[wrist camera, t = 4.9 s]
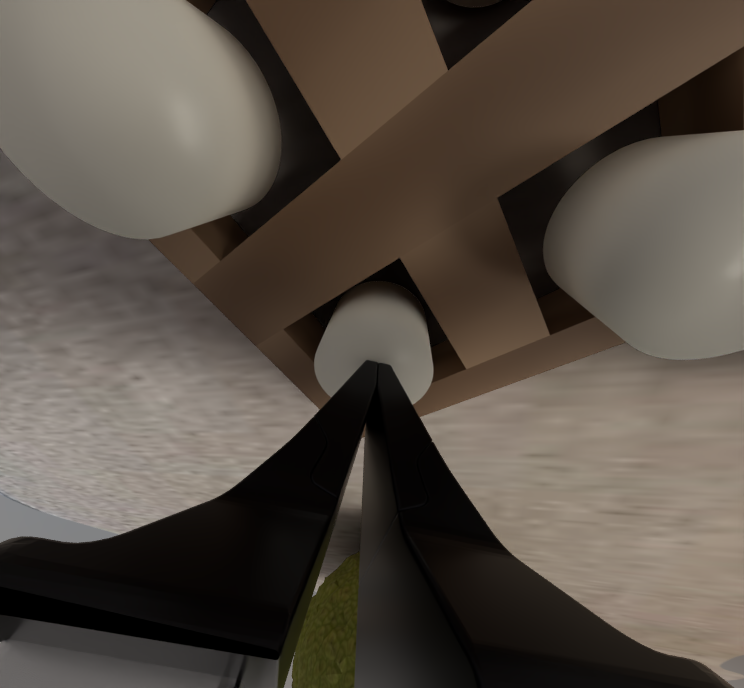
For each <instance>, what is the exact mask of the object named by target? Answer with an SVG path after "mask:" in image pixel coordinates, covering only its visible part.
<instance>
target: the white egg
mask: <svg viewBox="0 0 744 688" xmlns="http://www.w3.org/2000/svg"><path fill="white" fill-rule="evenodd" d="M447 1H449V2H451V3H453V4H456V5H459V6H464V7H470V8H471V7H484V6H488V5H493V4H495V3H498V2H500V1H503V0H447Z"/></svg>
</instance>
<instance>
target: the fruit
mask: <svg viewBox="0 0 744 688" xmlns="http://www.w3.org/2000/svg"><path fill="white" fill-rule="evenodd" d="M359 564H360V552H358V553H356V554H354V555H351V556H350V557H348V558H346V560H345V561H344V562H343V563H342V564H341V565H340V566H339V567H338V569H337V570H335V571H334V572H333V573H331V574H330V575H329V576H328V577H325V580H324V583H323V584H322V585H321V586H319V589H318V591H317V594H316V595H315V596H313V597H312V598H311V601H310V605H309V608H308V611H307V614H306V617H305V621H304V624H303V627H302V630H301V634H300V637H299V640H298V643H297V646H296V650H295V655H294V660H293V669H292V670H293V671H292V678H293V682H292V688H354V683H355V659H356V634H357V610H358V588H359Z"/></svg>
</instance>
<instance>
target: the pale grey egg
mask: <svg viewBox="0 0 744 688" xmlns="http://www.w3.org/2000/svg"><path fill="white" fill-rule="evenodd" d="M543 258H544V263H545V267H546V269H547V272H548V274H549V276H550V277H551V279H552V280H553V281H554V282H555V283H556V284H557V285H558V286H559V287H560V288H561V289H562V290H564V291H565V292H566V293H567V294H569V295H570V296H571V297H572V298H573V299H575V300H576V301H577V302H578V303H579V304H581V305H582V306H583V307H584V308H586V309H587V310H588V311H589V312H590V313H592V314H593V315H594V316H595V317H596V318H598V319H599V320H600V321H601V322H602V323H604V324H605V325H606V326H607V327H609V328H610V329H611V330H612V331H613V332H615V333H616V334H617V335H618V336H619V337H621V338H622V339H623V340H624V341H626V342H627V343H628V344H629V345H631V346H632V347H634V348H635V349H636V350H638V351H641V352H643V353H645V354H647V355H651V356H654V357H658V358H664V359H671V360H697V359H705V358H712V357H717V356H722V355H727V354H731V353H734V352H738V351H742V350H744V130H741V131H728V132H715V133H702V134H690V135H677V136H664V137H656V138H649V139H646V140H642V141H638V142H635V143H633V144H630V145H628V146H625V147H623V148H621V149H619V150H617V151H615V152H613V153H611V154H609V155H608V156H606V157H605V158H603V159H602V160H600V161H599V162H597V163H596V164H595V165H593V166H592V167H591V168H590V169H588V170H587V171H586V172H585V173H584V174H583V175H582V176H581V177H580V178H579V179H577V180H576V182H575V183H574V184H573V185H572V186H571V187H570V188H569V189H568V191H567V192H566V193H565V195H564V196H563V197H562V199H561V200H560V202H559V203H558V205H557V207H556V208H555V210H554V212H553V214H552V216H551V218H550V221H549V223H548V226H547V229H546V232H545V237H544V242H543Z"/></svg>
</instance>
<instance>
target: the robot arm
mask: <svg viewBox="0 0 744 688" xmlns="http://www.w3.org/2000/svg"><path fill="white" fill-rule="evenodd" d="M365 424H366V426H365ZM364 428H365V444H364V468H363V492H362V516H361V540H360V564H359V588H358V610H357V634H356V659H355V683H354V688H734V687H733V686H731V685H730V684H729V683H728V682H726V681H725V680H724V679H722V678H721V677H720V676H719V675H717V674H716V673H715V672H713V671H712V670H711V669H709V668H708V667H707V666H705V665H704V664H702V663H700V662H697V661H695V660H691V659H687V658H683V657H677V656H672V655H667V654H664V653H661V652H657V651H655V650H653V649H651V648H648V647H646V646H644V645H642V644H640V643H638V642H637V641H635V640H633V639H631V638H630V637H628V636H626V635H624V634H623V633H621V632H620V631H618V630H617V629H615V628H614V627H612V626H611V625H609V624H608V623H607V622H605V621H604V620H602V619H601V618H600V617H598V616H597V615H595V614H594V613H593V612H591V611H590V610H588V609H587V608H586V607H584V606H583V605H581V604H580V603H579V602H577V601H576V600H574V599H573V598H572V597H570V596H569V595H567V594H566V593H565V592H563V591H562V590H560V589H559V588H558V587H556V586H555V585H553V584H552V583H551V582H549V581H548V580H546V579H545V578H544V577H542V576H541V575H539V574H538V573H536V572H535V571H534V570H532V569H531V568H529V567H528V566H527V565H525V564H524V563H522V562H521V561H520V560H518V559H517V558H516V557H515V556H514V555H512V554H511V553H510V552H509V551H508V550H507V549H506V548H505V547H504V546H503V545H502V544H501V542H500V541H499V540H498V539H497V538H496V536H495V535H494V534H493V532H492V531H491V530H490V528H489V527H488V525H487V524H486V522H485V521H484V520H483V518H482V517H481V515H480V514H479V512H478V511H477V509H476V508H475V507H474V505H473V504H472V502H471V501H470V499H469V498H468V497H467V495H466V494H465V492H464V491H463V489H462V488H461V486H460V485H459V483H458V482H457V480H456V479H455V477H454V476H453V474H452V473H451V471H450V470H449V468H448V467H447V465H446V463H445V462H444V460H443V458H442V456H441V455H440V453H439V451H438V450H437V448H436V446H435V444H434V442H432V439H431V437H430V435H429V433H428V432H427V430H426V428H425V426H424V424H423V423H422V421H421V419H420V417H419V415H418V414H417V412H416V410H415V408H414V406H413V404H412V403H411V401H410V399H409V397H408V395H407V394H406V392H405V390H404V388H403V386H402V385H401V383H400V381H399V379H398V377H397V376H396V374H395V372H394V370H393V368H392V366H391V365H389V364H384V363H379V364H378V363H377V362H375V361H371V360H366V361H365V362H364V363H363V364H362V365H361V366H360V367H359V368H358V369H357V370H356V371H355V372H354V373H353V375H352V376H351V377H350V378H349V379H348V380H347V381H346V382H345V383H344V384H343V385H342V386H341V388H340V389H339V390H338V391H337V392H336V393H335V394H334V395H333V396H332V397H331V398H330V399H329V400H328V402H327V403H326V404H325V405H324V406H323V407H322V408H321V409H320V410H319V411H318V412H317V413H316V415H315V416H314V417H313V418H312V419H311V420H310V421H309V422H308V423H307V424H306V425H305V426H304V427H303V428H302V429H301V430H300V431H299V432H298V433H297V434H296V435H295V436H294V437H293V438H292V439H291V440H290V441H289V442H287V443H286V444H285V445H284V446H283V447H282V448H281V449H279V450H278V451H277V452H276V453H275V454H273V455H272V456H271V457H270V458H269V459H267V460H266V461H265V462H264V463H263V464H261V465H260V466H259V467H258V468H257V469H255V470H254V471H253V472H252V473H250V474H249V475H248V476H247V477H246V478H244V479H243V480H242V481H241V482H239V483H238V484H237V485H236V486H234V487H233V488H232V489H230V490H229V491H227V492H225V493H224V494H222V495H220V496H218V497H216V498H215V499H212V500H210V501H207V502H205V503H202V504H200V505H197V506H194V507H192V508H189V509H186V510H184V511H181V512H179V513H176V514H173V515H171V516H168V517H165V518H163V519H160V520H158V521H155V522H152V523H150V524H147V525H144V526H142V527H139V528H137V529H134V530H131V531H129V532H126V533H123V534H120V535H117V536H114V537H111V538H107V539H102V540H97V541H92V542H81V543H70V542H61V541H55V540H50V539H45V538H38V537H17V538H11V539H8V540H6V541H3V542H1V543H0V642H1V643H0V688H284V685H285V681H286V678H287V675H288V671H289V669H290V666H291V662H292V659H293V656H294V653H295V650H296V646H297V643H298V640H299V637H300V634H301V630H302V627H303V624H304V621H305V617H306V614H307V611H308V608H309V605H310V601H311V598H312V595H313V592H314V589H315V585H316V582H317V579H318V576H319V573H320V569H321V566H322V563H323V560H324V557H325V553H326V550H327V547H328V544H329V541H330V537H331V534H332V531H333V528H334V524H335V521H336V518H337V515H338V512H339V508H340V505H341V502H342V499H343V496H344V492H345V489H346V486H347V483H348V480H349V476H350V473H351V470H352V467H353V464H354V460H355V457H356V454H357V451H358V448H359V444H360V441H361V438H362V435H363V431H364Z"/></svg>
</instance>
